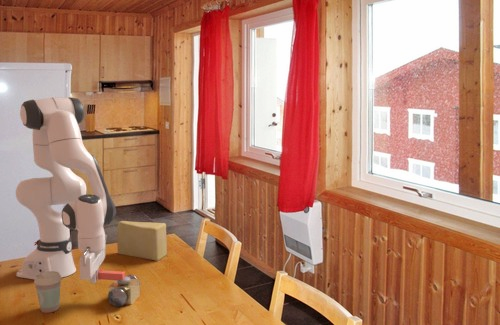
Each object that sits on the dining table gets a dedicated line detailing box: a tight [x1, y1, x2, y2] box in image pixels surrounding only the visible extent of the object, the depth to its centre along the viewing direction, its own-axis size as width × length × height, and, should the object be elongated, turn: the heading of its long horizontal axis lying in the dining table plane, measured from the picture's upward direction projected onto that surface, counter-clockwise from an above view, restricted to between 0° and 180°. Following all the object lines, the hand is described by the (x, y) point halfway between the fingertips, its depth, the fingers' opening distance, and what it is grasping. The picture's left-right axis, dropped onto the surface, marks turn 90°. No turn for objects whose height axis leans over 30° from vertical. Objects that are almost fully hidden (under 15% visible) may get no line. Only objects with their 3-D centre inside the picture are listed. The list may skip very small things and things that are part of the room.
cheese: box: [116, 220, 168, 262], centre depth 219 cm, size 22×10×15 cm, turn 72°
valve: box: [107, 274, 141, 308], centre depth 175 cm, size 8×13×6 cm, turn 171°
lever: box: [97, 269, 130, 285], centre depth 175 cm, size 13×4×4 cm, turn 81°
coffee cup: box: [33, 271, 63, 314], centre depth 168 cm, size 8×9×12 cm
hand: (93, 281), depth 171 cm, fingers closed
